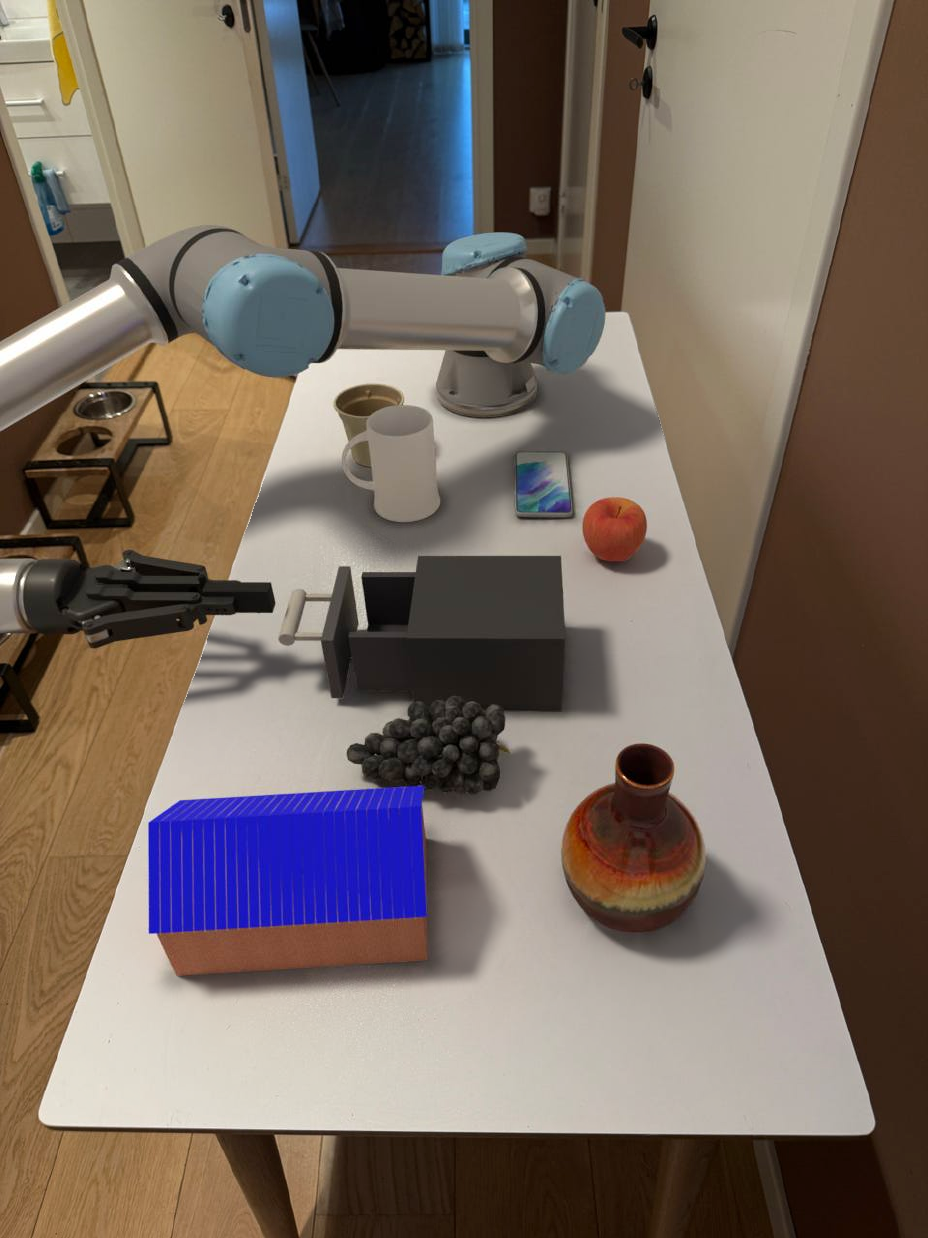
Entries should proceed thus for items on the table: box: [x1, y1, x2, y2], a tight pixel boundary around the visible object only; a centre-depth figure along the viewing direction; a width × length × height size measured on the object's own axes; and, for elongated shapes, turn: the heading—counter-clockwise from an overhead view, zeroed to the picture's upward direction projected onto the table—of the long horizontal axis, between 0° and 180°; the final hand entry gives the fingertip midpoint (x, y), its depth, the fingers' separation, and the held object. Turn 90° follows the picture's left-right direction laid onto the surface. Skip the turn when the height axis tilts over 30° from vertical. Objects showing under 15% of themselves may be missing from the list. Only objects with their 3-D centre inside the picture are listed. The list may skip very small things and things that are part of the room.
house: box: [147, 785, 429, 977], centre depth 71 cm, size 12×20×12 cm, turn 93°
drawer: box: [278, 565, 416, 699], centre depth 93 cm, size 18×11×8 cm, turn 87°
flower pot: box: [333, 382, 405, 468], centre depth 126 cm, size 9×9×9 cm
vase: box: [560, 742, 707, 934], centre depth 70 cm, size 11×11×15 cm
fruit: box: [345, 696, 512, 795], centre depth 83 cm, size 9×8×15 cm
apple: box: [581, 496, 648, 562], centre depth 107 cm, size 7×7×8 cm
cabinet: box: [406, 555, 566, 712], centre depth 92 cm, size 15×13×10 cm
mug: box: [341, 404, 441, 523], centre depth 115 cm, size 12×8×12 cm
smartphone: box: [513, 450, 574, 518], centre depth 121 cm, size 7×1×15 cm
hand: (271, 597), depth 91 cm, fingers closed
